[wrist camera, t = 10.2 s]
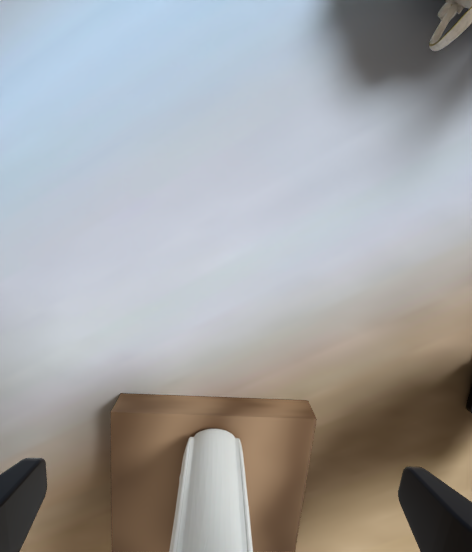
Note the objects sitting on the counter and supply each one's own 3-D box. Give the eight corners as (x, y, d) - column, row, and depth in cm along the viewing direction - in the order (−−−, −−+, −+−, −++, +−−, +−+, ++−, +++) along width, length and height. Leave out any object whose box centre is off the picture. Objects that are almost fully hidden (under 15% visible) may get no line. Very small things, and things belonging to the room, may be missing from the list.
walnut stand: (307, 400, 22) (316, 418, 20) (288, 524, 24) (294, 552, 22) (120, 393, 21) (110, 411, 19) (120, 523, 23) (111, 552, 21)
